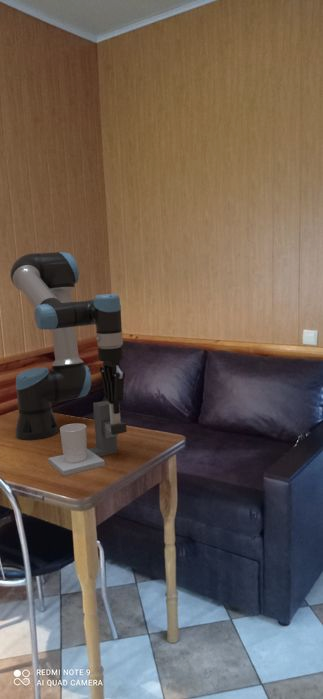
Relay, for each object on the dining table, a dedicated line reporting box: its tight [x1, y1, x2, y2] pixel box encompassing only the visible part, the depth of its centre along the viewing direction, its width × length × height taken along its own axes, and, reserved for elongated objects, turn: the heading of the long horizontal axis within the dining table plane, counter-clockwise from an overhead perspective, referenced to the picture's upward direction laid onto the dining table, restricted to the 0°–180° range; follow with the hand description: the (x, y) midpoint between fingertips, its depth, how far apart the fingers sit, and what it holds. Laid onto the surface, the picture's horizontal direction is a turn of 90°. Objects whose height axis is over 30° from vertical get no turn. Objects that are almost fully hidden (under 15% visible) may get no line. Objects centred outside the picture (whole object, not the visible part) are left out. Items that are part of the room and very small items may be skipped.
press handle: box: [103, 420, 128, 438], centre depth 164 cm, size 8×4×5 cm, turn 31°
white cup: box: [59, 423, 88, 463], centre depth 161 cm, size 8×8×10 cm
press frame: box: [48, 399, 118, 477], centre depth 162 cm, size 13×21×16 cm, turn 121°
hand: (115, 423), depth 162 cm, fingers closed
